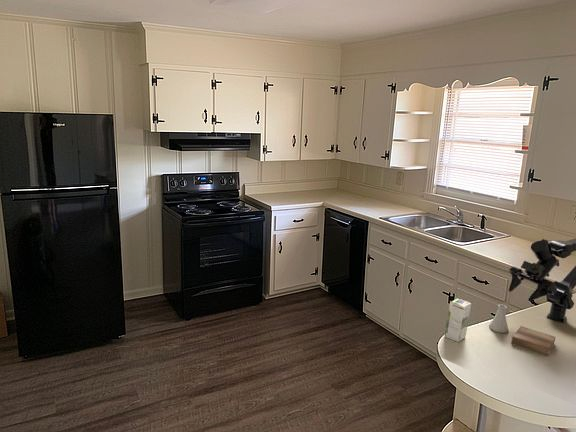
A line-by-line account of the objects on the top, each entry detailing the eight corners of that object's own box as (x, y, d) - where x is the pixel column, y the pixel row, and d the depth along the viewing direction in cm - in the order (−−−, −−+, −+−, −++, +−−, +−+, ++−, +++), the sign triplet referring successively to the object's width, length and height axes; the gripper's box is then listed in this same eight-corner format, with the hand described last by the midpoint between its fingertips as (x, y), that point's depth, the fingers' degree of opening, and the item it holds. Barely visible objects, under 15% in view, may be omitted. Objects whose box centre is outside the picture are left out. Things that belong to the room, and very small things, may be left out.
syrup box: (451, 332, 173) (456, 297, 169) (465, 338, 169) (471, 302, 165) (444, 336, 169) (449, 301, 166) (459, 343, 165) (464, 306, 162)
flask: (502, 325, 181) (506, 302, 179) (512, 334, 174) (516, 310, 172) (485, 324, 181) (489, 301, 179) (494, 333, 174) (498, 309, 172)
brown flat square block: (519, 332, 175) (520, 325, 175) (554, 344, 168) (555, 336, 167) (511, 343, 166) (512, 336, 166) (547, 356, 159) (548, 348, 158)
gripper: (515, 247, 184) (491, 275, 182) (557, 262, 167) (531, 293, 166) (526, 263, 189) (502, 291, 187) (567, 279, 172) (542, 309, 170)
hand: (518, 295), depth 177 cm, fingers open, 9 cm apart
